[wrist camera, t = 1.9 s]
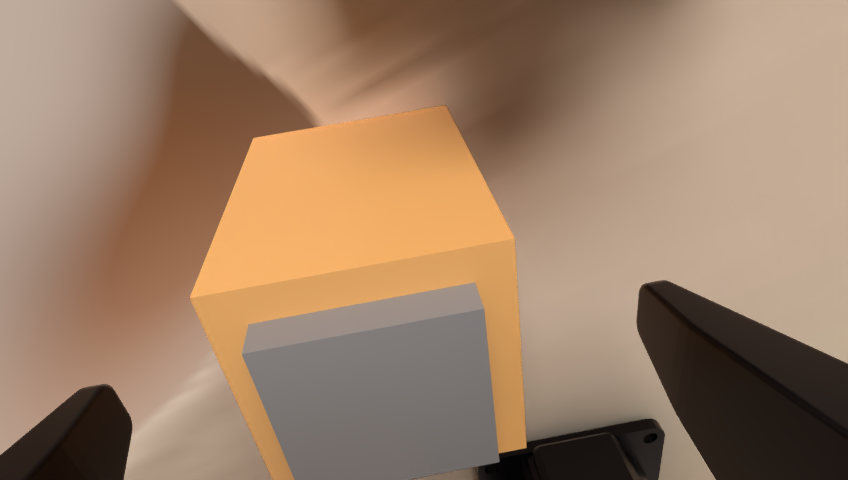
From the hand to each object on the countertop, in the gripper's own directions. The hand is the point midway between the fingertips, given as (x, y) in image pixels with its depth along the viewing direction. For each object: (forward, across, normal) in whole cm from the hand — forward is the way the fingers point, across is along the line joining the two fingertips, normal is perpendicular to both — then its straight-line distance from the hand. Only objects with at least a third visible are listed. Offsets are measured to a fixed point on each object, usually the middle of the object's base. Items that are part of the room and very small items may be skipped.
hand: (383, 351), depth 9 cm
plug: (+5, 0, 0) cm, 5 cm away
